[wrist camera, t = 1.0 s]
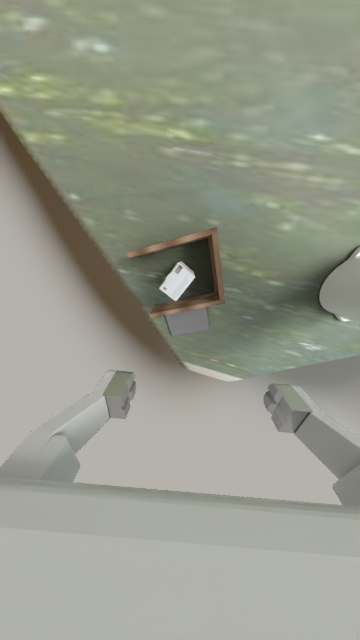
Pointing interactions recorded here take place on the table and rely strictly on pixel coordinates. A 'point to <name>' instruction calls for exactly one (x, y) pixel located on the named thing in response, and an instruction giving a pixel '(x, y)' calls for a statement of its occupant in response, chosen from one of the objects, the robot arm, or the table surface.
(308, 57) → the table surface
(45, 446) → the robot arm
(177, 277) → the skincare box
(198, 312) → the charcoal mat
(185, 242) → the walnut u-shaped frame
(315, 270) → the table surface
